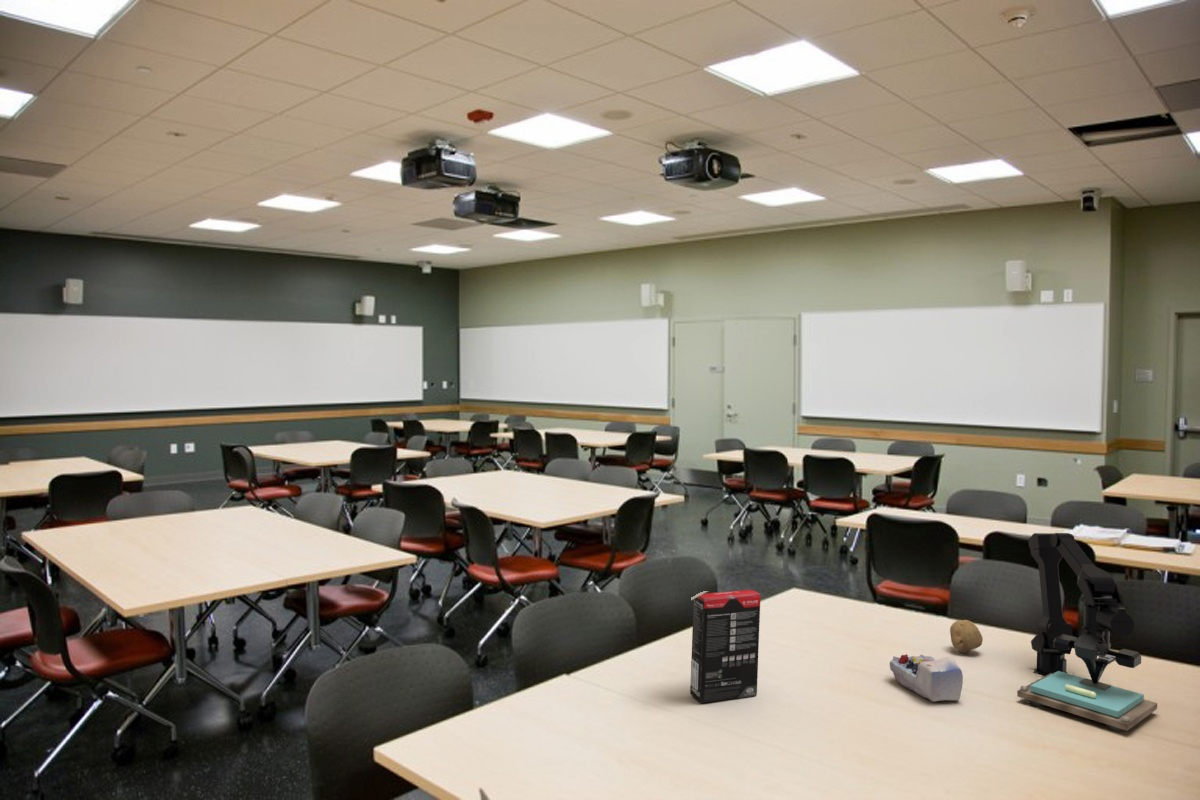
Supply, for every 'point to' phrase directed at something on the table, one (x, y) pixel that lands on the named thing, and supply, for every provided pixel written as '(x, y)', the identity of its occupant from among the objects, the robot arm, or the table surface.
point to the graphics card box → (725, 645)
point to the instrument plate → (1098, 704)
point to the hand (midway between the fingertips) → (1095, 683)
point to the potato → (965, 636)
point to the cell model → (929, 676)
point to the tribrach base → (1111, 722)
